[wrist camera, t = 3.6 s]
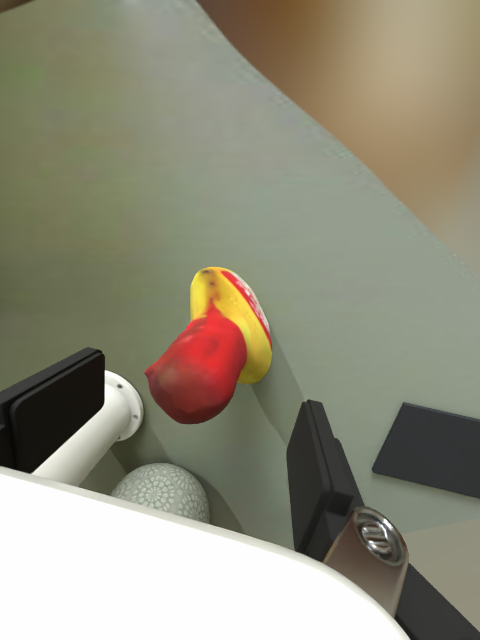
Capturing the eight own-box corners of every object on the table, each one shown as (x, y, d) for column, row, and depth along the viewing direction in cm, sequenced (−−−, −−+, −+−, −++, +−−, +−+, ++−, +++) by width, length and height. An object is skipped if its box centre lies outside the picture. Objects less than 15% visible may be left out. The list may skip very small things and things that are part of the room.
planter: (180, 534, 43) (135, 680, 28) (108, 482, 41) (20, 609, 26) (238, 489, 38) (220, 637, 23) (158, 429, 36) (85, 548, 22)
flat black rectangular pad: (371, 468, 34) (373, 472, 33) (403, 402, 30) (406, 404, 30) (481, 495, 33) (485, 499, 32) (527, 430, 29) (533, 433, 29)
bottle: (199, 273, 29) (64, 309, 9) (246, 254, 27) (200, 251, 8) (234, 355, 31) (183, 514, 12) (278, 341, 30) (300, 494, 11)
